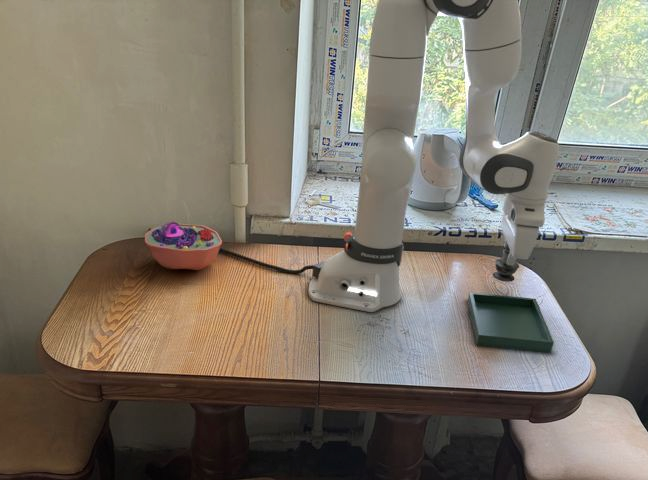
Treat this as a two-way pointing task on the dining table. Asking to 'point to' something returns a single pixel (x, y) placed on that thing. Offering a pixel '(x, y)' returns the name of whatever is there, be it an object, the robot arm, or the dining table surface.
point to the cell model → (183, 245)
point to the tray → (508, 322)
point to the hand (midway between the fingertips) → (508, 260)
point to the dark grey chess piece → (505, 267)
